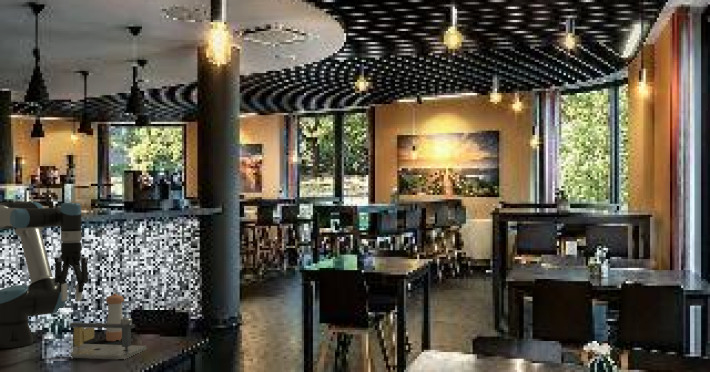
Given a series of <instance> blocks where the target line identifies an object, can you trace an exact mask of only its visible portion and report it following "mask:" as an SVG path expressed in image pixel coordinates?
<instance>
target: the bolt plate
mask: <svg viewBox="0 0 710 372" xmlns="http://www.w3.org/2000/svg"><path fill="white" fill-rule="evenodd" d="M146 349H147V350H148V346H147V345H133V344H131V346H129V347H128V349H125V347H122V344H102V343H101V344H100V343H98V344H97V343H96V344H95V343H83V344H82V345H80V348H77V345H73V352H72V353H71V356H72V357H74V358H73V359H91V360H92V359H95V360H96V359H99V360H118V359H124V360H123V361H125V359H126V360H128V359H130V358H132V357H134V356H136V355H135V354H137V353H139V354H141V353H143V352H145V351H147V350H146ZM144 350H145V351H144ZM142 351H143V352H142ZM140 352H141V353H140ZM133 355H134V356H133ZM137 355H138V354H137ZM131 356H132V357H131ZM129 357H130V358H129ZM127 358H128V359H127Z"/></svg>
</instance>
